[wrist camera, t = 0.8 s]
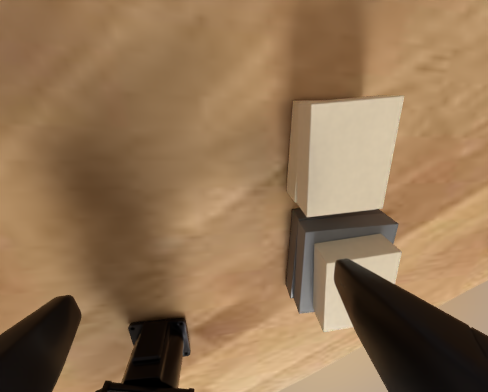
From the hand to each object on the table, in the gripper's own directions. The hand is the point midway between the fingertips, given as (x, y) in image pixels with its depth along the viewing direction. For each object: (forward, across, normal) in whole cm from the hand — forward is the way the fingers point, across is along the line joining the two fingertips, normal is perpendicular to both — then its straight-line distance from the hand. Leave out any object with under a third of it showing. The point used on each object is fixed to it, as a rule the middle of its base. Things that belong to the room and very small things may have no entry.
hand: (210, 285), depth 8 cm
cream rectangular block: (+10, -11, +10) cm, 18 cm away
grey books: (+14, -11, +10) cm, 20 cm away
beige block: (+14, -10, -1) cm, 17 cm away
